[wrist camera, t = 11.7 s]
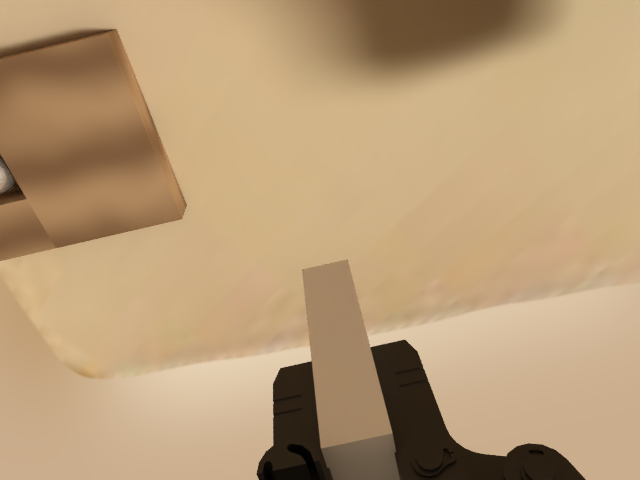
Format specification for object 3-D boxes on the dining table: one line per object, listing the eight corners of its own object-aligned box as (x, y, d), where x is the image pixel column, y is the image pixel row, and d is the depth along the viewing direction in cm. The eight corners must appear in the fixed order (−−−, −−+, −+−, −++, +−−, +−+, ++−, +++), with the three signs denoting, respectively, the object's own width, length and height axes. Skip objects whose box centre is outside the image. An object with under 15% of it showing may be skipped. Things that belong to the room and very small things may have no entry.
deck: (-130, 89, 34) (-157, 97, 31) (116, 29, 33) (105, 34, 31) (-18, 252, 41) (-34, 268, 39) (186, 205, 40) (182, 219, 38)
